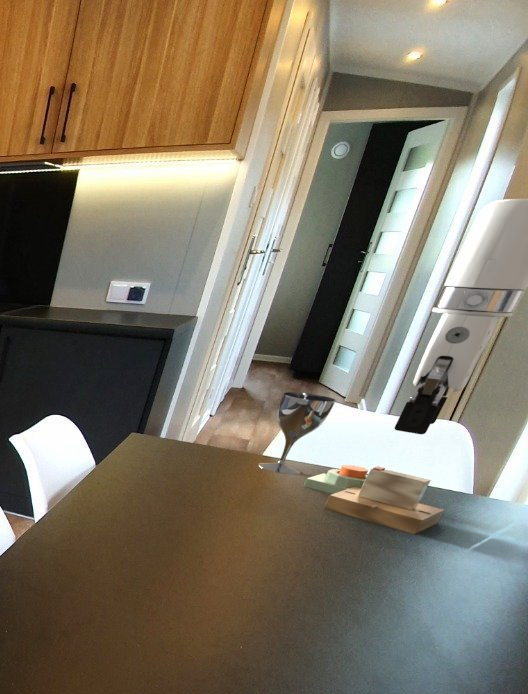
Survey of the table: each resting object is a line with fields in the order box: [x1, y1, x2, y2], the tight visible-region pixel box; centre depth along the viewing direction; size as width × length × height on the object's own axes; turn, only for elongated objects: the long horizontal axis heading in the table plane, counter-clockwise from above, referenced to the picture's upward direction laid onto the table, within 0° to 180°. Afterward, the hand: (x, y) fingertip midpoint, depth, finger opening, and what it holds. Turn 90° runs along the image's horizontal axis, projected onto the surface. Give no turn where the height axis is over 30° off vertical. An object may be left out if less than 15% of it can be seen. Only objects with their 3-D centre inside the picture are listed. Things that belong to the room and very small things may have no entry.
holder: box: [358, 466, 432, 510], centre depth 107 cm, size 7×2×5 cm, turn 29°
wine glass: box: [257, 391, 337, 475], centre depth 128 cm, size 8×8×15 cm
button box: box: [303, 468, 368, 495], centre depth 118 cm, size 10×7×4 cm
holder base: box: [323, 487, 445, 535], centre depth 108 cm, size 12×11×3 cm
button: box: [339, 464, 369, 479], centre depth 118 cm, size 4×4×2 cm
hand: (414, 426), depth 92 cm, fingers open, 9 cm apart
